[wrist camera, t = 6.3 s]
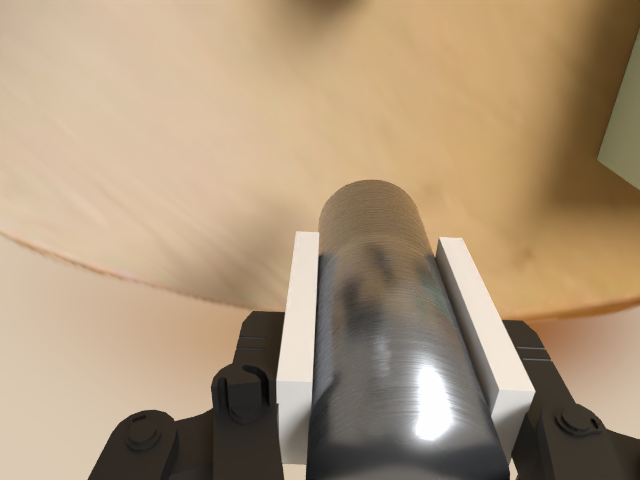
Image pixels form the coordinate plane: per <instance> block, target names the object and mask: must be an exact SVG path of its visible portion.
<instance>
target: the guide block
mask: <svg viewBox="0 0 640 480" xmlns="http://www.w3.org/2000/svg"><path fill="white" fill-rule="evenodd" d="M597 161H599V162H600V163H602V164H603V165H605V166H606V167H607V168H609V169H610V170H612V171H613V172H614V173H616V174H617V175H619V176H620V177H622V178H623V179H624V180H626V181H627V182H629V183H630V184H631V185H633V186H634V187H636V188H637V189H639V190H640V28H639V31H638V34H637V38H636V41H635V44H634V47H633V50H632V53H631V56H630V59H629V62H628V65H627V68H626V71H625V74H624V77H623V80H622V83H621V86H620V90H619V93H618V96H617V99H616V102H615V105H614V108H613V111H612V114H611V117H610V120H609V123H608V126H607V129H606V132H605V135H604V138H603V142H602V145H601V148H600V151H599V154H598V157H597Z"/></svg>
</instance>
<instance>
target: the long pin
mask: <svg viewBox="0 0 640 480" xmlns="http://www.w3.org/2000/svg"><path fill="white" fill-rule="evenodd" d="M318 232H319V254H318V276H317V298H316V319H315V341H314V363H313V384H312V406H311V415H310V418H309V426H308V445H307V465H306V480H510V471H509V466H508V463H507V460H506V457H505V454H504V451H503V449H502V446H501V443H500V440H499V437H498V434H497V432H496V429H495V426H494V423H493V420H492V418H491V415H490V412H489V409H488V406H487V404H486V401H485V398H484V395H483V392H482V389H481V387H480V384H479V381H478V378H477V375H476V373H475V370H474V367H473V364H472V361H471V359H470V356H469V353H468V350H467V347H466V344H465V342H464V339H463V336H462V333H461V330H460V328H459V325H458V322H457V319H456V316H455V314H454V311H453V308H452V305H451V302H450V299H449V297H448V294H447V291H446V288H445V285H444V283H443V280H442V277H441V274H440V271H439V269H438V266H437V263H436V260H435V257H434V254H433V252H432V249H431V246H430V243H429V240H428V238H427V235H426V232H425V229H424V226H423V224H422V221H421V218H420V215H419V212H418V210H417V207H416V205H415V203H414V201H413V200H412V199H411V197H410V196H409V195H408V194H407V193H406V192H405V191H404V190H402V189H401V188H399V187H398V186H396V185H394V184H391V183H388V182H385V181H381V180H362V181H357V182H354V183H351V184H348V185H346V186H344V187H343V188H341V189H339V190H338V191H337V192H335V193H334V194H333V195H332V196H331V197H330V198H329V200H328V201H327V202H326V204H325V205H324V207H323V209H322V212H321V215H320V218H319V230H318Z"/></svg>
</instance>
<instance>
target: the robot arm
mask: <svg viewBox="0 0 640 480" xmlns="http://www.w3.org/2000/svg"><path fill="white" fill-rule="evenodd" d="M318 254H319V232H298V231H296V238H295V245H294V253H293V260H292V267H291V275H290V282H289V290H288V297H287V305H286V312H264V311H253V312H252V313H251V314H250V315H249V316H248V317H247V318H246V319H245V321H244V322H243V323H242V328H241V331H240V336H239V340H238V343H237V349H236V351H235V355H234V359H233V363H232V364H229V365H228V366H226V367H224V368H222V369H221V370H220V371H219V372H218V373H217V374H216V375H215V377H214V378H213V382H212V385H211V392H212V402H213V408H212V409H211V410H209V411H207V412H205V413H203V414H201V415H198V416H195V417H191V418H187V419H182V420H178V421H174V419H173V418H172V417H171V416H169V415H168V414H167V413H166V412H161V411H158V410H145V411H141V412H138V413H135V414H133V415H130V416H129V417H127V418H126V419H124V420H123V421H122V422H120V423H119V424H118V426H117V427H116V428H115V430H114V431H113V432H112V434H111V436H110V437H109V439H108V441H107V443H106V445H105V447H104V449H103V451H102V453H101V455H100V457H99V459H98V460H97V463H96V464H95V466H94V468H93V470H92V472H91V474H90V476H89V478H88V480H284V474H283V467H282V464H304V465H307V445H308V426H309V418H310V415H311V406H312V384H313V363H314V341H315V319H316V298H317V276H318ZM435 260H436V263H437V266H438V269H439V271H440V274H441V277H442V280H443V283H444V285H445V288H446V291H447V294H448V297H449V299H450V302H451V305H452V308H453V311H454V314H455V316H456V319H457V322H458V325H459V328H460V330H461V333H462V336H463V339H464V342H465V344H466V347H467V350H468V353H469V356H470V359H471V361H472V364H473V367H474V370H475V373H476V375H477V378H478V381H479V384H480V387H481V389H482V392H483V395H484V398H485V401H486V404H487V406H488V409H489V412H490V415H491V418H492V420H493V423H494V426H495V429H496V432H497V434H498V437H499V440H500V443H501V446H502V449H503V451H504V454H505V457H506V460H507V463H508V466H509V463H510V461H511V458H512V459H513V461H514V464H515V467H516V469H517V472H518V475H517V478H516V480H640V439H636V438H633V437H629V436H626V435H623V434H619V433H616V432H613V431H611V430H608V429H606V428H605V426H604V424H603V423H602V421H601V420H600V419H599V418H598V417H597V416H596V415H595V414H594V413H593V412H592V411H590V410H588V409H587V408H585V407H583V406H581V405H579V404H576V403H575V401H574V399H573V398H572V396H571V394H570V392H569V390H568V389H567V387H566V385H565V383H564V381H563V380H562V378H561V376H560V374H559V373H558V371H557V369H556V367H555V365H554V364H553V362H551V358H550V356H549V355H548V353H547V351H546V350H544V346H543V344H542V342H541V340H540V338H539V337H538V335H537V333H536V332H535V331H533V330H532V329H531V328H530V327H529V326H528V325H527V324H525V323H524V322H523V321H515V320H501V318H500V316H499V314H498V312H497V310H496V308H495V306H494V304H493V302H492V299H491V297H490V295H489V293H488V291H487V289H486V287H485V285H484V283H483V281H482V279H481V277H480V274H479V272H478V270H477V268H476V266H475V264H474V262H473V260H472V258H471V256H470V254H469V252H468V249H467V247H466V245H465V243H464V241H463V239H462V238H447V237H439V240H438V246H437V251H436V257H435Z"/></svg>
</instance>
